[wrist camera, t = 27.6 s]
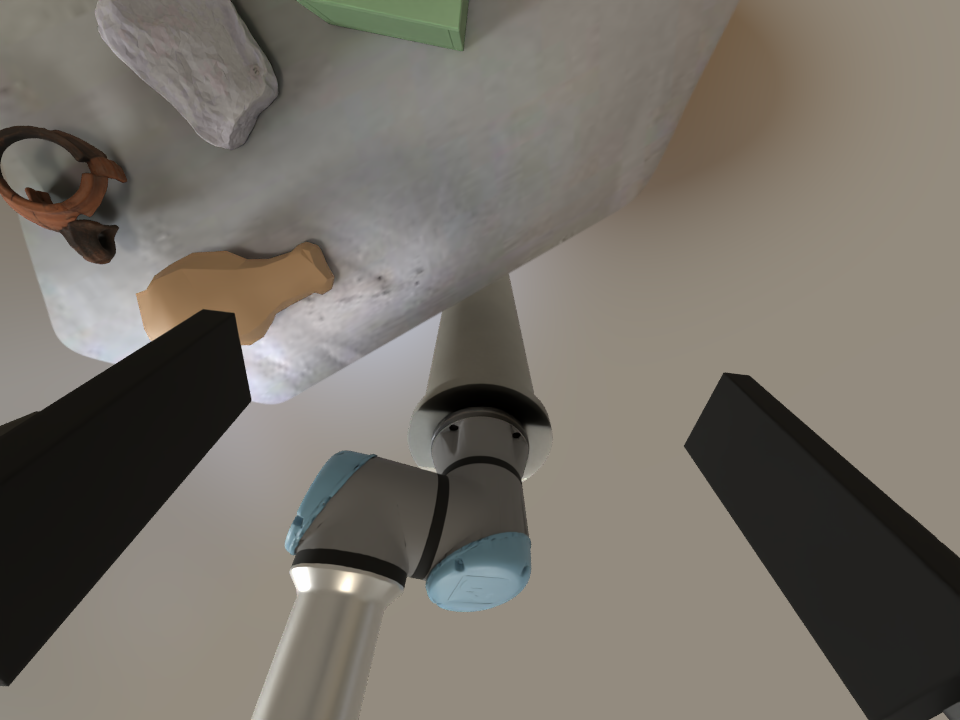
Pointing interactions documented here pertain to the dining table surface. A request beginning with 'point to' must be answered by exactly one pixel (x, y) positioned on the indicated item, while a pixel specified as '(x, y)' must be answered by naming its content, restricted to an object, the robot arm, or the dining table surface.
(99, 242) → the brown curved loop piece
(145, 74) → the stone block
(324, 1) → the chest lid
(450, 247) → the dining table surface
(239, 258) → the squash
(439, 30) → the chest
